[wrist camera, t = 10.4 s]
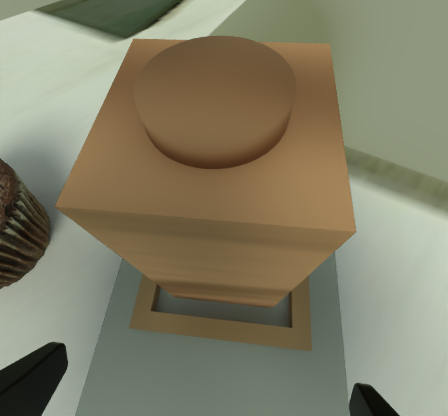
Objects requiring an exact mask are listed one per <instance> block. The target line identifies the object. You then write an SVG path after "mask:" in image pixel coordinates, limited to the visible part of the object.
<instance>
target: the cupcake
mask: <svg viewBox="0 0 448 416" xmlns="http://www.w3.org/2000/svg"><path fill="white" fill-rule="evenodd" d="M49 229H50V221H49V217H48V216H47V212H46V211H45V209H44V208H43V207H42V205H41V204H40V203H39V202H38V201H37V200H36V198H35V197H34V196H33V195H32V194H31V193H30V191H29V190H28V189H27V188H26V186H25V185H24V183H23V182H22V181H21V179H20V178H19V177H18V175H17V174H16V172H15V171H14V170H13V169H12V168H11V167H10V166H9V165H8V164H6V163H5V162H4V161H3V160H1V159H0V289H1V288H3V287H4V286H9V285H11V284H12V283H15V282H17V281H18V280H20V279H21V278H22V277H23V276H24V275H25V274H26V273H28V272H29V271H30V270H32V269H33V268H34V267H35V265H36V263H37V261H38V260H39V259H40V258H41V257H42V256H43V255H44V251H45V248H46V247H47V246H48V245H49V239H48V234H49Z"/></svg>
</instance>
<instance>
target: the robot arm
mask: <svg viewBox="0 0 448 416" xmlns="http://www.w3.org/2000/svg"><path fill="white" fill-rule="evenodd" d="M67 366H68V359H67V353H66V346H65V345H64V344H63V343H58V342H50V343H48V344H46V345H44V346H43V347H41V348H39V349H37V350H36V351H34V352H32V353H30V354H28V355H27V356H25V357H23V358H21V359H20V360H18V361H16V362H14V363H12V364H11V365H9V366H7V367H5V368H4V369H2V370H0V416H41V415H42V413H43V412H44V410H45V408H46V406H47V404H48V403H49V401H50V399H51V397H52V395H53V394H54V392H55V390H56V388H57V386H58V384H59V383H60V381H61V379H62V377H63V375H64V374H65V372H66V370H67ZM349 410H350V416H400V415H399V414H398V413H397V412H396V411H395V410H394V409H393V408H392V407H391V406H390V405H389V404H388V403H387V402H386V401H385V399H384V398H383V397H382V396H381V395H380V394H379V393H378V392H377V391H376V390H375V389H374V388H373V387H372V386H371V385H368V384H361V383H356V384H355V385H354V388H353V391H352V395H351V399H350V403H349Z"/></svg>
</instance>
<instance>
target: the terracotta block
mask: <svg viewBox="0 0 448 416" xmlns="http://www.w3.org/2000/svg"><path fill="white" fill-rule="evenodd" d="M55 207H56V208H57V209H58V210H60V211H61V212H62V213H64V214H65V215H66V216H68V217H69V218H70V219H72V220H73V221H74V222H76V223H77V224H78V225H80V226H81V227H82V228H84V229H85V230H86V231H88V232H89V233H90V234H91V235H93V236H94V237H95V238H97V239H98V240H99V241H101V242H102V243H103V244H105V245H106V246H107V247H109V248H110V249H111V250H113V251H114V252H115V253H117V254H118V255H119V256H121V257H122V258H123V259H125V260H126V261H127V262H128V263H130V264H131V265H132V266H134V267H135V268H136V269H138V270H139V271H140V272H142V273H143V274H144V275H146V276H147V277H148V278H150V279H151V280H152V281H154V282H155V283H156V284H158V285H159V286H160V287H162V288H163V289H164V290H165V291H167V292H168V293H169V294H171V295H172V296H173V297H175V298H184V299H193V300H202V301H211V302H220V303H229V304H238V305H247V306H256V307H265V308H273V307H274V306H275V305H276V304H277V303H278V302H280V301H281V300H282V299H283V298H284V297H285V296H286V295H287V294H288V293H289V292H291V291H292V290H293V289H294V288H295V287H296V286H297V285H298V284H299V283H300V282H302V281H303V280H304V279H305V278H306V277H307V276H308V275H309V274H310V273H311V272H313V271H314V270H315V269H316V268H317V267H318V266H319V265H320V264H321V263H322V262H324V261H325V260H326V259H327V258H328V257H329V256H330V255H331V254H332V253H333V252H335V251H336V250H337V249H338V248H339V247H340V246H341V245H342V244H343V243H344V242H346V241H347V240H348V239H349V238H350V237H351V236H352V235H353V234H354V233H355V232H356V227H355V220H354V213H353V206H352V199H351V192H350V184H349V177H348V170H347V163H346V156H345V149H344V142H343V136H342V128H341V120H340V113H339V106H338V99H337V92H336V85H335V78H334V71H333V64H332V56H331V49H330V44H316V43H277V42H255V41H253V40H249V39H245V38H240V37H233V36H208V37H200V38H195V39H191V40H162V39H133V41H132V43H131V45H130V47H129V49H128V52H127V54H126V56H125V58H124V60H123V62H122V64H121V66H120V69H119V71H118V73H117V75H116V77H115V79H114V81H113V83H112V86H111V88H110V90H109V92H108V94H107V96H106V98H105V100H104V103H103V105H102V107H101V109H100V111H99V113H98V115H97V117H96V120H95V122H94V124H93V126H92V128H91V130H90V132H89V134H88V137H87V139H86V141H85V143H84V145H83V147H82V149H81V151H80V153H79V156H78V158H77V160H76V162H75V164H74V166H73V168H72V170H71V173H70V175H69V177H68V179H67V181H66V183H65V185H64V187H63V190H62V192H61V194H60V196H59V198H58V200H57V202H56V204H55Z"/></svg>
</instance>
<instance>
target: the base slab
mask: <svg viewBox="0 0 448 416" xmlns="http://www.w3.org/2000/svg"><path fill="white" fill-rule="evenodd" d="M75 416H350V414H349V403H348V393H347V382H346V371H345V360H344V349H343V338H342V327H341V316H340V305H339V294H338V284H337V273H336V262H335V252H333V253H332V254H331V255H330V256H329V257H328V258H327V259H326V260H325V261H324V262H322V263H321V264H320V265H319V266H318V267H317V268H316V269H315V270H314V271H313V272H311V273H310V274H309V275H308V276H307V277H306V278H305V279H304V280H303V281H302V282H300V283H299V284H298V285H297V286H296V287H295V288H294V289H293V290H292V291H291V292H289V293H288V294H287V295H286V296H285V297H284V298H283V299H282V300H281V301H280V302H278V303H277V304H276V305H275V306H274V307H273V308H265V307H256V306H247V305H238V304H229V303H220V302H211V301H202V300H193V299H184V298H175V297H173V296H172V295H171V294H169V293H168V292H167V291H165V290H164V289H163V288H162V287H160V286H159V285H158V284H156V283H155V282H154V281H152V280H151V279H150V278H148V277H147V276H146V275H144V274H143V273H142V272H140V271H139V270H138V269H136V268H135V267H134V266H132V265H131V264H130V263H128V262H127V261H126V260H125V259H122V262H121V266H120V269H119V272H118V276H117V279H116V282H115V286H114V289H113V292H112V295H111V299H110V302H109V305H108V309H107V312H106V315H105V319H104V322H103V325H102V329H101V332H100V335H99V339H98V342H97V345H96V348H95V352H94V355H93V358H92V362H91V365H90V368H89V372H88V375H87V378H86V382H85V385H84V388H83V391H82V395H81V398H80V401H79V405H78V408H77V411H76V415H75Z"/></svg>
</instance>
